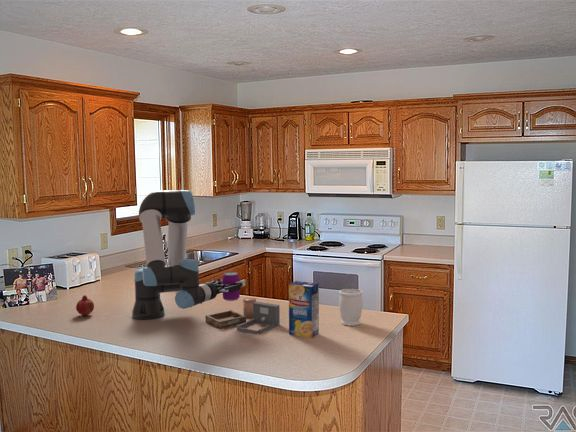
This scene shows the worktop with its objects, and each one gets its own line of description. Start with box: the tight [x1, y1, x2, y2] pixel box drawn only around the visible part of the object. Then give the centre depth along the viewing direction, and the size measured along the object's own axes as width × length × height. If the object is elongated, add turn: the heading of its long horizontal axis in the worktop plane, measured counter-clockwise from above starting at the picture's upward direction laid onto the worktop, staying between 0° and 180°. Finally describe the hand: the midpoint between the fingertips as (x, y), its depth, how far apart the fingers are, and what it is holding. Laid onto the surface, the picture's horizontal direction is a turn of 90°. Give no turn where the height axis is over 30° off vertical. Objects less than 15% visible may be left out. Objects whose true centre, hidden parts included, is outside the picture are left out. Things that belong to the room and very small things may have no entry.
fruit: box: [75, 295, 95, 317], centre depth 260 cm, size 8×8×10 cm
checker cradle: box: [236, 301, 281, 335], centre depth 240 cm, size 12×16×9 cm
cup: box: [242, 297, 257, 319], centre depth 257 cm, size 6×6×8 cm
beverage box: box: [288, 280, 320, 339], centre depth 229 cm, size 7×11×22 cm, turn 61°
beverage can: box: [221, 271, 240, 302], centre depth 244 cm, size 8×8×12 cm
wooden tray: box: [204, 309, 247, 329], centre depth 248 cm, size 13×14×3 cm
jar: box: [338, 288, 364, 327], centre depth 244 cm, size 11×10×15 cm
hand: (237, 281), depth 248 cm, fingers closed on beverage can, 8 cm apart
